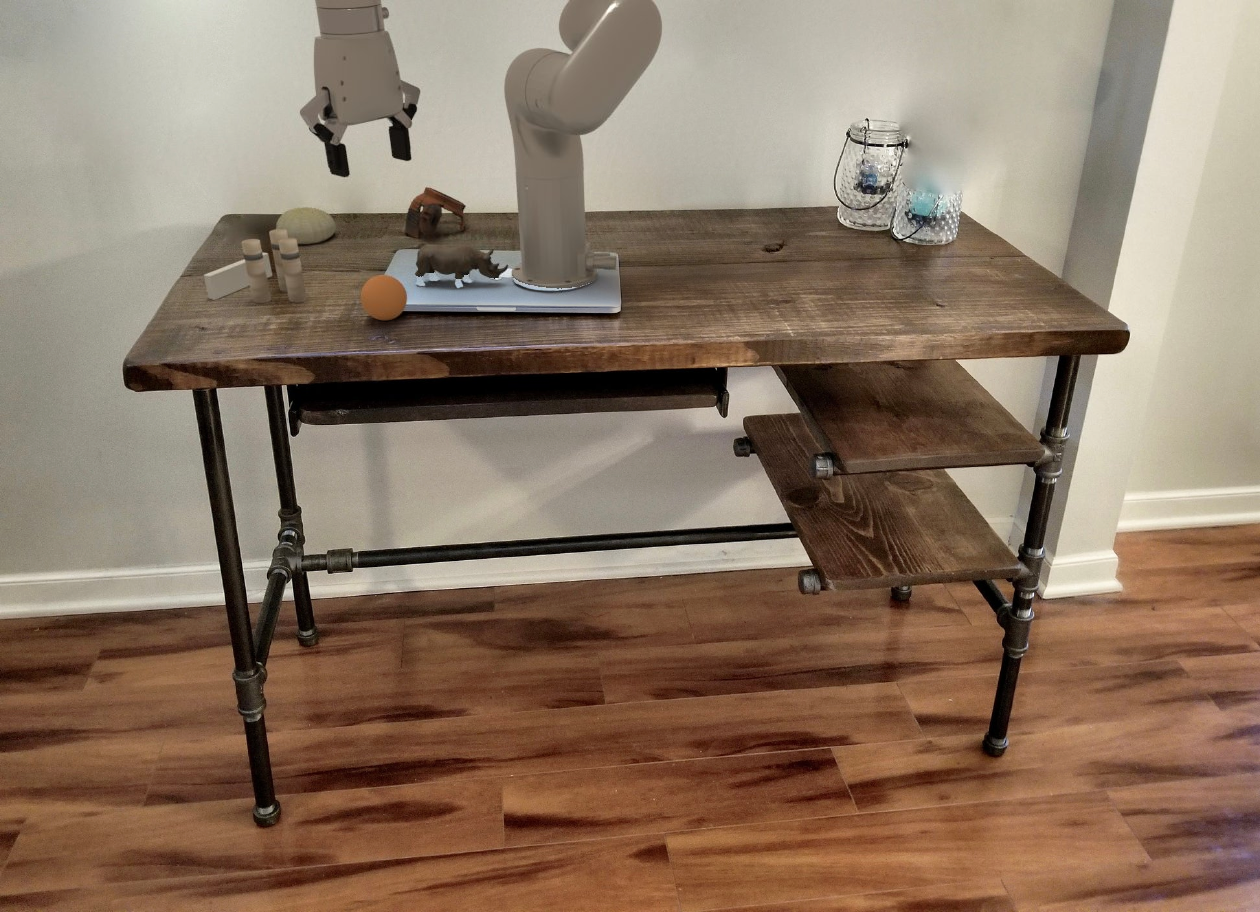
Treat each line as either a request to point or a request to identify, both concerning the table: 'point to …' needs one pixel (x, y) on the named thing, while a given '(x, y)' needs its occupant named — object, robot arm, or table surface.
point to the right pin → (278, 255)
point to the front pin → (292, 269)
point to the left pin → (256, 270)
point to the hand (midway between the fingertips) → (371, 167)
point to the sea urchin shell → (307, 225)
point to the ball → (383, 297)
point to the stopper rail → (231, 278)
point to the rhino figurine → (456, 261)
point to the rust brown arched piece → (431, 212)
